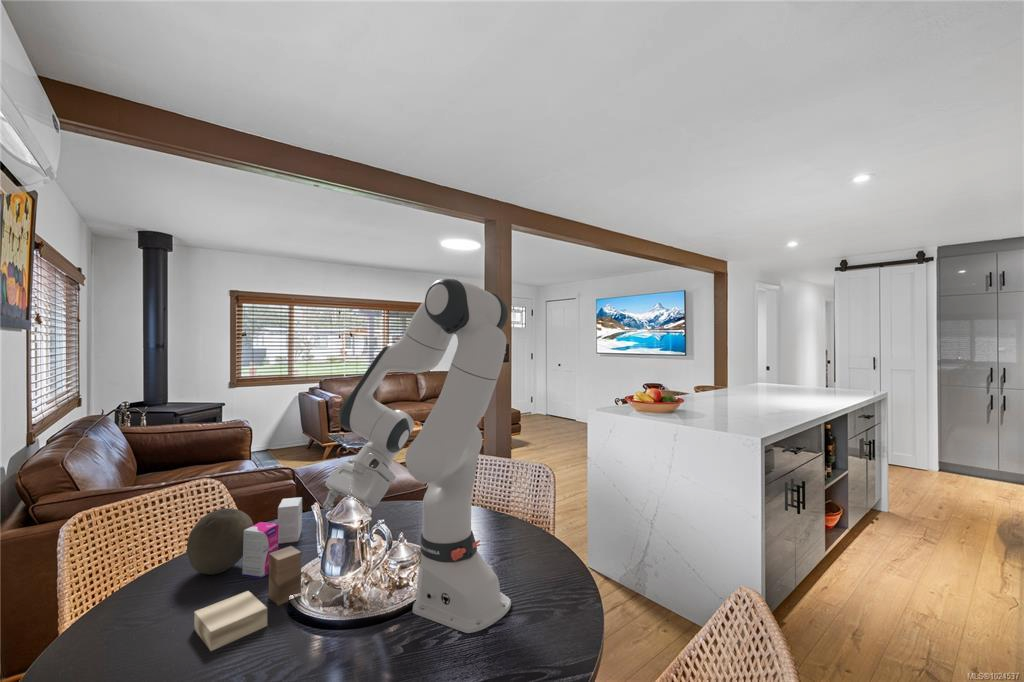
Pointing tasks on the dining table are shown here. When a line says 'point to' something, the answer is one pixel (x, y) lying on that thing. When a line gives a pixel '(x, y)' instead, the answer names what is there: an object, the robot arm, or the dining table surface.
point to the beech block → (230, 619)
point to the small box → (290, 520)
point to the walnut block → (284, 574)
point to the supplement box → (259, 548)
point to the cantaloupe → (217, 540)
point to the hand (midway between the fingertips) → (335, 512)
